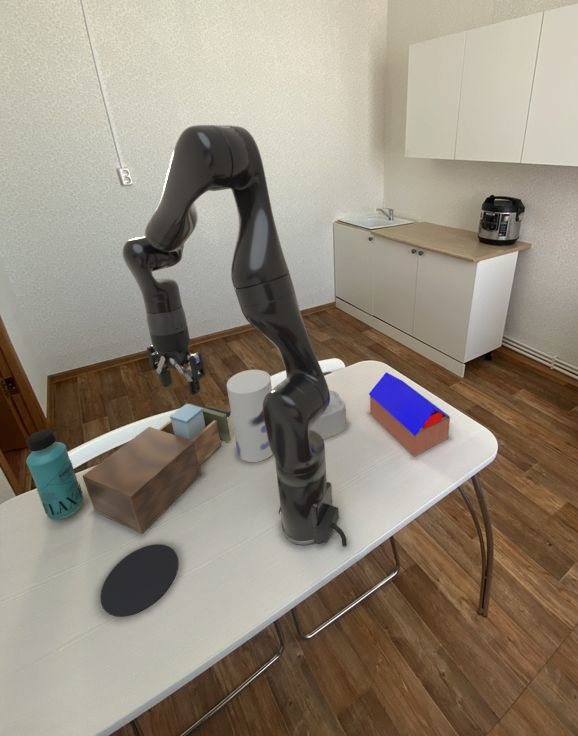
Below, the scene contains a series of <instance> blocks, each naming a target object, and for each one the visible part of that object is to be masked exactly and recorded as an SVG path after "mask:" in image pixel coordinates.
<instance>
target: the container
mask: <svg viewBox="0 0 578 736" xmlns="http://www.w3.org/2000/svg"><path fill="white" fill-rule="evenodd" d="M272 389H273V386H272V378H271V375H270V374H269V372H267V371H265V370H261V369H247V370H243V371H240V372H237V373H236V374H234V375H232V376H231V377H230V378H229V379H228V380H227V382H226V391H227V396H228V397H227V398H228V402H229V409H230V413H231V415H230V416H231V421H232V427H233V428H232V429H233V435H234V439H235V445H236V452H237V453H236V454H237V456H238V457H239V458H240V459H241V460H242V461H244V462H247V463H258V462H261V461H264V460H267V459H268V458H271V456H274V455H273V453H272V451H271V449H270V446H269V443H268V438H267V432H266V427H265V422H264V417H263V401H264V398H265V396H266V395H267V394H268V392H270V391H271V390H272Z"/></svg>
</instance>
